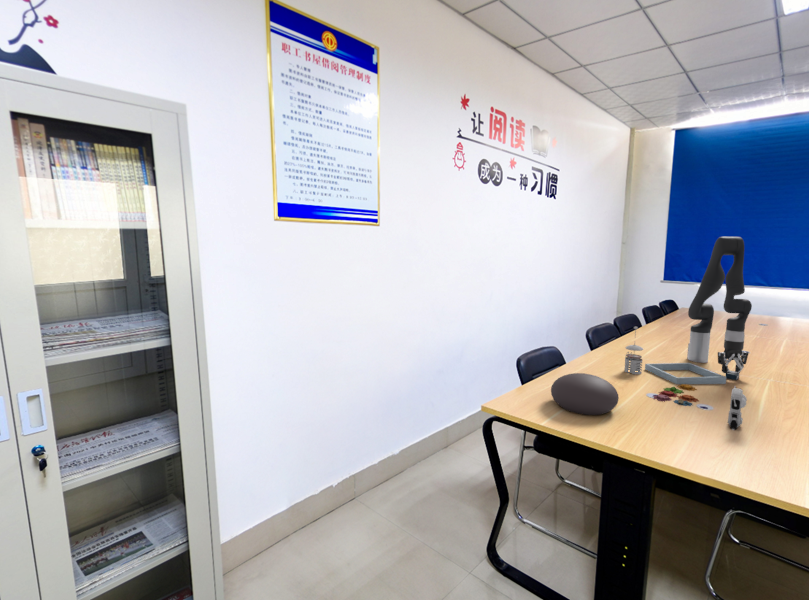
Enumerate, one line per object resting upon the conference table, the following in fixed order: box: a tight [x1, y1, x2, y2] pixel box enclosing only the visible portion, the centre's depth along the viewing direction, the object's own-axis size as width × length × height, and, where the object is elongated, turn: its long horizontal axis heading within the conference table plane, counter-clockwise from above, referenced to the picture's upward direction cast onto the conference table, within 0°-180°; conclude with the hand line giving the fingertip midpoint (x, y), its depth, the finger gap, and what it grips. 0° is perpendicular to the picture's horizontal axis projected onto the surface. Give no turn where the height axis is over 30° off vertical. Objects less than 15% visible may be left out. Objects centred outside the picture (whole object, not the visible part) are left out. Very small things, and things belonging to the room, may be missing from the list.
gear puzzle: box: [653, 384, 700, 407], centre depth 181 cm, size 31×16×4 cm, turn 133°
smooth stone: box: [550, 372, 619, 416], centre depth 166 cm, size 25×25×15 cm
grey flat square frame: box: [644, 362, 727, 385], centre depth 207 cm, size 24×24×4 cm
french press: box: [623, 326, 644, 375], centre depth 212 cm, size 10×12×25 cm
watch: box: [725, 357, 745, 381], centre depth 204 cm, size 6×8×11 cm
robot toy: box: [727, 385, 748, 431], centre depth 148 cm, size 12×4×15 cm, turn 139°
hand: (731, 372), depth 205 cm, fingers closed on watch, 6 cm apart
